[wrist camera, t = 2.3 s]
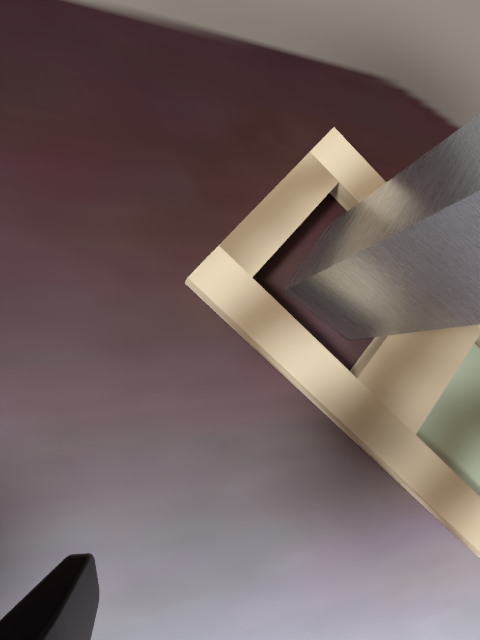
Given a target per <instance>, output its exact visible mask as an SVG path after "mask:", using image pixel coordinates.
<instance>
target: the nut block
mask: <svg viewBox="0 0 480 640" xmlns="http://www.w3.org/2000/svg"><path fill="white" fill-rule="evenodd" d="M284 291H285V292H286V293H287V294H289V295H290V296H291V297H293V298H294V299H295V300H297V301H298V302H299V303H300V304H302V305H303V306H304V307H306V308H307V309H308V310H310V311H311V312H312V313H313V314H315V315H316V316H317V317H319V318H320V319H321V320H323V321H324V322H325V323H327V324H328V325H329V326H330V327H332V328H333V329H334V330H336V331H337V332H338V333H340V334H341V335H342V336H343V337H345V338H346V339H347V340H354V339H363V338H371V337H379V336H388V335H396V334H404V333H413V332H421V331H429V330H438V329H446V328H454V327H462V326H471V325H479V324H480V114H479V115H478V116H477V117H475V118H474V119H473V120H471V121H470V122H469V123H467V124H466V125H464V126H463V127H462V128H460V129H459V130H458V131H456V132H455V133H453V134H452V135H451V136H449V137H448V138H447V139H445V140H444V141H443V142H441V143H440V144H438V145H437V146H436V147H434V148H433V149H432V150H430V151H429V152H428V153H426V154H425V155H423V156H422V157H421V158H419V159H418V160H417V161H415V162H414V163H413V164H411V165H410V166H408V167H407V168H406V169H404V170H403V171H402V172H400V173H399V174H398V175H396V176H395V177H393V178H392V179H391V180H389V181H388V182H387V183H385V184H384V185H383V186H381V187H380V188H378V189H377V190H376V191H374V192H373V193H372V194H370V195H369V196H368V197H366V198H365V199H363V200H362V201H361V202H359V203H358V204H357V205H355V206H354V207H353V208H351V209H350V210H348V211H347V212H346V213H344V214H343V215H342V216H340V217H339V218H338V219H336V220H335V221H333V222H332V223H331V224H329V225H328V226H327V227H325V229H324V230H323V232H322V234H321V235H320V237H319V238H318V240H317V241H316V243H315V244H314V246H313V247H312V249H311V250H310V252H309V253H308V255H307V256H306V258H305V259H304V261H303V262H302V264H301V265H300V267H299V268H298V270H297V271H296V273H295V274H294V276H293V277H292V279H291V280H290V282H289V283H288V285H287V286H286V288H285V290H284Z"/></svg>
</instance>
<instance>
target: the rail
mask: <svg viewBox="0 0 480 640" xmlns="http://www.w3.org/2000/svg"><path fill="white" fill-rule="evenodd" d="M385 183H386V182H385V181H384V180H383V179H382V177H381V176H380V175H379V174H378V173H377V172H376V171H375V170H374V169H373V168H372V167H371V166H370V165H369V164H368V163H367V162H366V160H365V159H364V158H363V157H362V156H361V155H360V154H359V153H358V152H357V151H356V150H355V149H354V148H353V147H352V146H351V145H350V143H349V142H348V141H347V140H346V139H345V138H344V137H343V136H342V135H341V134H340V133H339V132H338V131H337V130H336V129H335V128H333V129H332V130H331V131H330V132H329V133H328V134H327V135H326V136H325V137H324V138H323V139H322V140H321V141H320V142H319V143H318V144H317V145H316V146H315V147H314V148H313V149H312V150H311V151H310V152H309V153H308V154H307V155H306V156H305V157H304V158H303V159H302V160H301V161H300V162H299V164H298V165H297V166H296V167H295V168H294V169H293V170H292V171H291V172H290V173H289V174H288V175H287V176H286V177H285V178H284V179H283V180H282V181H281V182H280V183H279V184H278V185H277V186H276V187H275V188H274V189H273V190H272V191H271V192H270V193H269V194H268V195H267V196H266V197H265V198H264V200H263V201H262V202H261V203H260V204H259V205H258V206H257V207H256V208H255V209H254V210H253V211H252V212H251V213H250V214H249V215H248V216H247V217H246V218H245V219H244V220H243V221H242V222H241V223H240V224H239V225H238V226H237V227H236V228H235V229H234V230H233V231H232V232H231V233H230V235H229V236H228V237H227V238H226V239H225V240H224V241H223V242H222V243H221V244H220V245H219V246H218V247H217V248H216V249H215V250H214V251H213V252H212V253H211V254H210V255H209V256H208V257H207V258H206V259H205V260H204V261H203V262H202V263H201V264H200V265H199V266H198V267H197V268H196V269H195V271H194V272H193V273H192V274H191V275H190V276H189V277H188V278H187V280H186V281H185V284H186V285H187V286H188V287H189V288H190V289H192V290H193V291H194V292H195V293H196V294H197V295H198V296H199V297H200V298H201V299H202V300H203V301H204V302H205V303H207V304H208V305H209V306H210V307H211V308H212V309H213V310H214V311H215V312H216V313H217V314H218V315H219V316H220V317H222V318H223V319H224V320H225V321H226V322H227V323H228V324H229V325H230V326H231V327H232V328H233V329H234V330H235V331H237V332H238V333H239V334H240V335H241V336H242V337H243V338H244V339H245V340H246V341H247V342H248V343H249V344H250V345H252V346H253V347H254V348H255V349H256V350H257V351H258V352H259V353H260V354H261V355H262V356H263V357H264V358H265V359H267V360H268V361H269V362H270V363H271V364H272V365H273V366H274V367H275V368H276V369H277V370H278V371H279V372H280V373H282V374H283V375H284V376H285V377H286V378H287V379H288V380H289V381H290V382H291V383H292V384H293V385H294V386H295V387H297V388H298V389H299V390H300V391H301V392H302V393H303V394H304V395H305V396H306V397H307V398H308V399H309V400H310V401H312V402H313V403H314V404H315V405H316V406H317V407H318V408H319V409H320V410H321V411H322V412H323V413H324V414H325V415H327V416H328V417H329V418H330V419H331V420H332V421H333V422H334V423H335V424H336V425H337V426H338V427H339V428H340V429H342V430H343V431H344V432H345V433H346V434H347V435H348V436H349V437H350V438H351V439H352V440H353V441H354V442H355V443H357V444H358V445H359V446H360V447H361V448H362V449H363V450H364V451H365V452H366V453H367V454H368V455H369V456H370V457H372V458H373V459H374V460H375V461H376V462H377V463H378V464H379V465H380V466H381V467H382V468H383V469H384V470H385V471H387V472H388V473H389V474H390V475H391V476H392V477H393V478H394V479H395V480H396V481H397V482H398V483H399V484H400V485H402V486H403V487H404V488H405V489H406V490H407V491H408V492H409V493H410V494H411V495H412V496H413V497H414V498H415V499H416V500H418V501H419V502H420V503H421V504H422V505H423V506H424V507H425V508H426V509H427V510H428V511H429V512H430V513H431V514H433V515H434V516H435V517H436V518H437V519H438V520H439V521H440V522H441V523H442V524H443V525H444V526H445V527H446V528H448V529H449V530H450V531H451V532H452V533H453V534H454V535H455V536H456V537H457V538H458V539H459V540H460V541H461V542H463V543H464V544H465V545H466V546H467V547H468V548H469V549H470V550H471V551H472V552H473V553H474V554H475V555H476V556H478V557H479V558H480V324H479V325H471V326H462V327H454V328H446V329H438V330H429V331H421V332H413V333H404V334H396V335H388V336H379V337H375V338H374V339H373V340H372V342H371V343H370V344H369V346H368V347H367V348H366V350H365V351H364V353H363V354H362V355H361V357H360V358H359V359H358V361H357V362H356V363H355V365H354V366H353V367H352V369H351V370H350V371H349V370H348V369H347V368H346V367H345V366H344V365H343V364H342V363H341V362H339V361H338V360H337V359H336V358H335V357H334V356H333V355H332V354H331V353H330V352H329V351H328V350H327V349H326V348H325V347H324V346H323V345H322V344H321V343H320V342H319V341H318V340H317V339H316V338H315V337H314V336H312V335H311V334H310V333H309V332H308V331H307V330H306V329H305V328H304V327H303V326H302V325H301V324H300V323H299V322H298V321H297V320H296V319H295V318H294V317H293V316H292V315H291V314H290V313H289V312H288V311H287V310H285V309H284V308H283V307H282V306H281V305H280V304H279V303H278V302H277V301H276V300H275V299H274V298H273V297H272V296H271V295H270V294H269V293H268V292H267V291H266V290H265V289H264V288H263V287H262V286H261V285H259V284H258V283H257V282H256V281H255V280H254V279H253V278H252V277H253V276H254V275H255V274H256V273H257V272H258V271H259V270H260V268H261V267H262V266H263V265H264V264H265V263H266V262H267V261H268V260H269V259H270V257H271V256H272V255H273V254H274V253H275V252H276V251H277V250H278V249H279V248H280V246H281V245H282V244H283V243H284V242H285V241H286V240H287V239H288V238H289V237H290V235H291V234H292V233H293V232H294V231H295V230H296V229H297V228H298V227H299V226H300V224H301V223H302V222H303V221H304V220H305V219H306V218H307V217H308V216H309V214H310V213H311V212H312V211H313V210H314V209H315V208H316V207H317V206H318V205H319V203H320V202H321V201H322V200H323V199H324V198H325V197H326V196H327V195H328V194H329V193H330V194H331V195H332V196H333V197H334V198H335V199H336V200H337V201H338V202H339V203H340V204H341V205H342V206H343V207H344V208H345V209H346V210H347V211H348V210H350V209H351V208H353V207H354V206H355V205H357V204H358V203H359V202H361V201H362V200H363V199H365V198H366V197H368V196H369V195H370V194H372V193H373V192H374V191H376V190H377V189H378V188H380V187H381V186H383V185H384V184H385Z"/></svg>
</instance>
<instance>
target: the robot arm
mask: <svg viewBox="0 0 480 640" xmlns="http://www.w3.org/2000/svg"><path fill="white" fill-rule="evenodd" d="M98 603H99V585H98V578H97V572H96V565H95V560H94V557H93V555H92V554H89V553H86V554H72V555H69V556H67V557H66V558H65V559H64V560H63V561H62V562H61V563H60V564H59V565H58V566H56V567H55V568H54V569H53V570H52V571H51V572H50V573H49V574H48V575H47V576H46V577H45V578H44V579H43V580H42V581H41V582H40V583H39V584H38V585H37V586H36V587H35V588H34V589H32V590H31V591H30V592H29V593H28V594H27V595H26V596H25V597H24V598H23V599H22V600H21V601H20V602H19V603H18V604H17V605H16V606H15V607H14V608H13V609H12V610H11V611H10V612H8V613H7V614H6V615H5V616H4V617H3V618H2V619H1V620H0V640H90V639H91V635H92V630H93V626H94V621H95V617H96V613H97V608H98Z"/></svg>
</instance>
